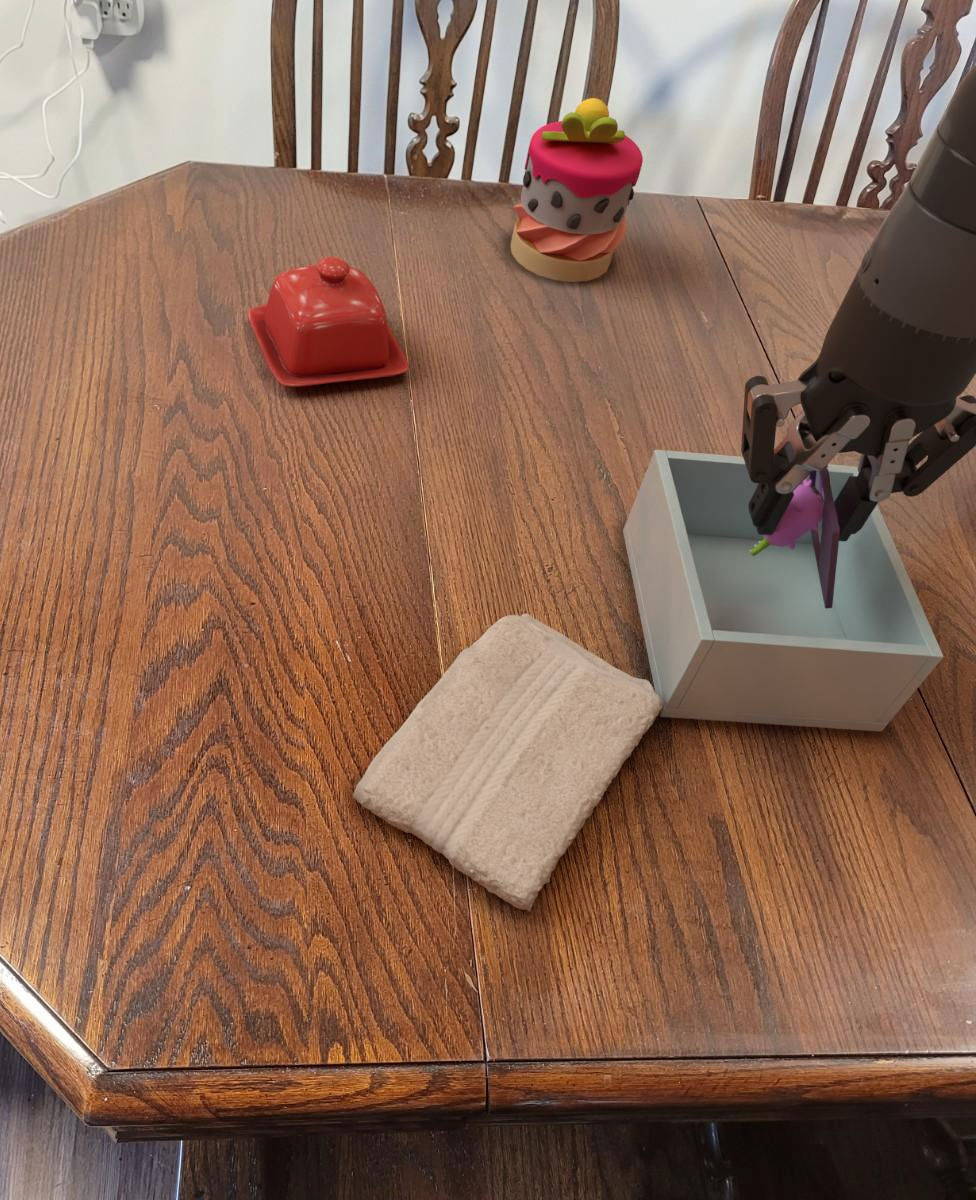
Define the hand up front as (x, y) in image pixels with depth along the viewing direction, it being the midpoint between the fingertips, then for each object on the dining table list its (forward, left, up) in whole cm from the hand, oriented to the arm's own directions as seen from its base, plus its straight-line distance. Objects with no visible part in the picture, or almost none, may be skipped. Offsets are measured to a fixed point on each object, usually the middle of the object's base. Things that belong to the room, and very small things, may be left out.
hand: (798, 527), depth 65 cm
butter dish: (+30, -27, -10) cm, 42 cm away
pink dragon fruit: (0, 0, -2) cm, 2 cm away
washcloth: (+17, +12, -10) cm, 23 cm away
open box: (0, 0, -10) cm, 10 cm away
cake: (+8, -46, -10) cm, 48 cm away
